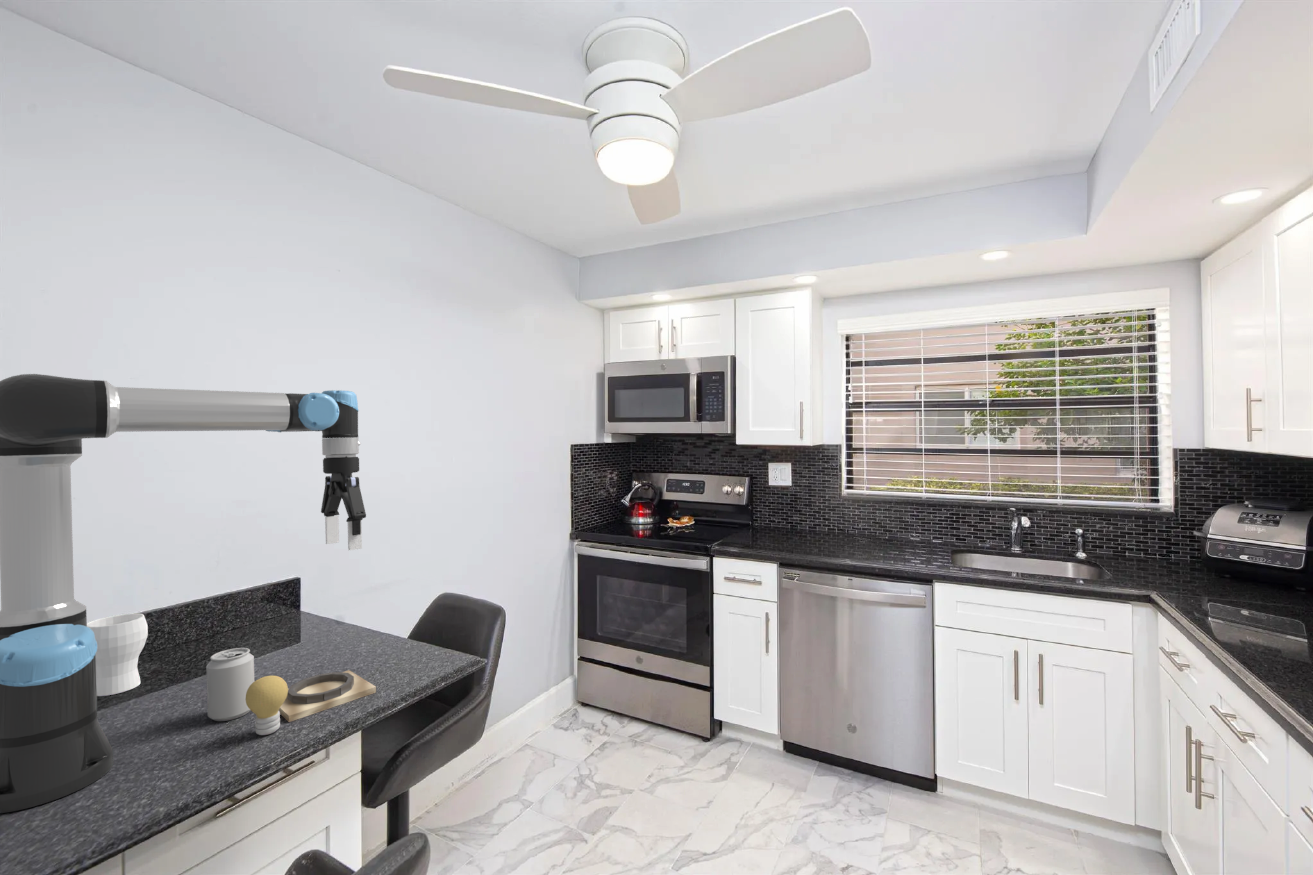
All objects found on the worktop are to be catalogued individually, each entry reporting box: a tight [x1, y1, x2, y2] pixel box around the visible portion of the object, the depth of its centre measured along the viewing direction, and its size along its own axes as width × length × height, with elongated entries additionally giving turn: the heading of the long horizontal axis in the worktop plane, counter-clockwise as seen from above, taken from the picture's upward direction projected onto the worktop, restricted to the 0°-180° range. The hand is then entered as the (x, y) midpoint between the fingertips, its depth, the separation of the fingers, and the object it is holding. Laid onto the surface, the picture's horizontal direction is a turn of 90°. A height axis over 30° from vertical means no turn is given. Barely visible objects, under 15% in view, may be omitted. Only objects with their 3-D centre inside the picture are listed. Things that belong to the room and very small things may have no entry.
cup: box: [87, 612, 149, 697], centre depth 126 cm, size 11×11×15 cm
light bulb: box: [246, 675, 289, 736], centre depth 105 cm, size 6×6×10 cm
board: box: [278, 669, 377, 723], centre depth 119 cm, size 16×14×3 cm
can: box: [205, 647, 255, 722], centre depth 113 cm, size 8×8×12 cm
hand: (343, 546), depth 136 cm, fingers open, 13 cm apart
